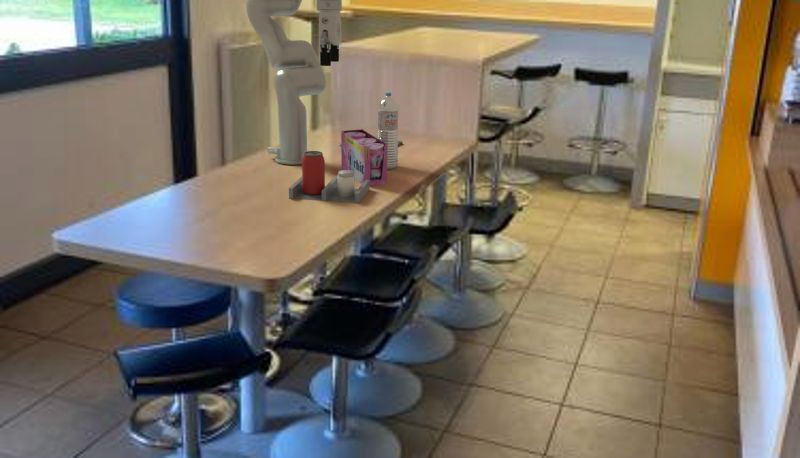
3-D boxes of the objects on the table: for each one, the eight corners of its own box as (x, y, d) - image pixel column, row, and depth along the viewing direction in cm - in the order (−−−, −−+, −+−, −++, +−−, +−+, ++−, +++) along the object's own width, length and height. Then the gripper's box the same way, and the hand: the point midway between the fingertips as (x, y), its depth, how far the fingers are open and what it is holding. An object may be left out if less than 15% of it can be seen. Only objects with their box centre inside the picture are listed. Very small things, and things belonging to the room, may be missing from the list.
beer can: (327, 190, 243) (327, 151, 239) (320, 196, 237) (320, 156, 233) (307, 188, 244) (306, 149, 240) (299, 194, 238) (298, 154, 234)
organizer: (289, 201, 235) (288, 188, 234) (302, 188, 248) (302, 175, 247) (358, 206, 232) (359, 193, 230) (369, 192, 245) (369, 180, 243)
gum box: (389, 188, 250) (390, 145, 246) (365, 190, 247) (365, 147, 243) (363, 168, 271) (363, 128, 266) (340, 170, 268) (340, 130, 264)
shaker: (335, 196, 237) (335, 173, 234) (339, 192, 241) (339, 169, 239) (352, 198, 236) (352, 174, 234) (356, 193, 241) (356, 170, 238)
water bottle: (398, 164, 276) (399, 91, 268) (396, 169, 270) (397, 95, 262) (378, 163, 277) (379, 90, 269) (376, 169, 271) (376, 94, 262)
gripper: (334, 8, 233) (334, 68, 238) (348, 4, 249) (348, 60, 254) (308, 7, 234) (310, 67, 240) (324, 3, 250) (325, 59, 256)
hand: (329, 63), depth 247 cm, fingers open, 9 cm apart
